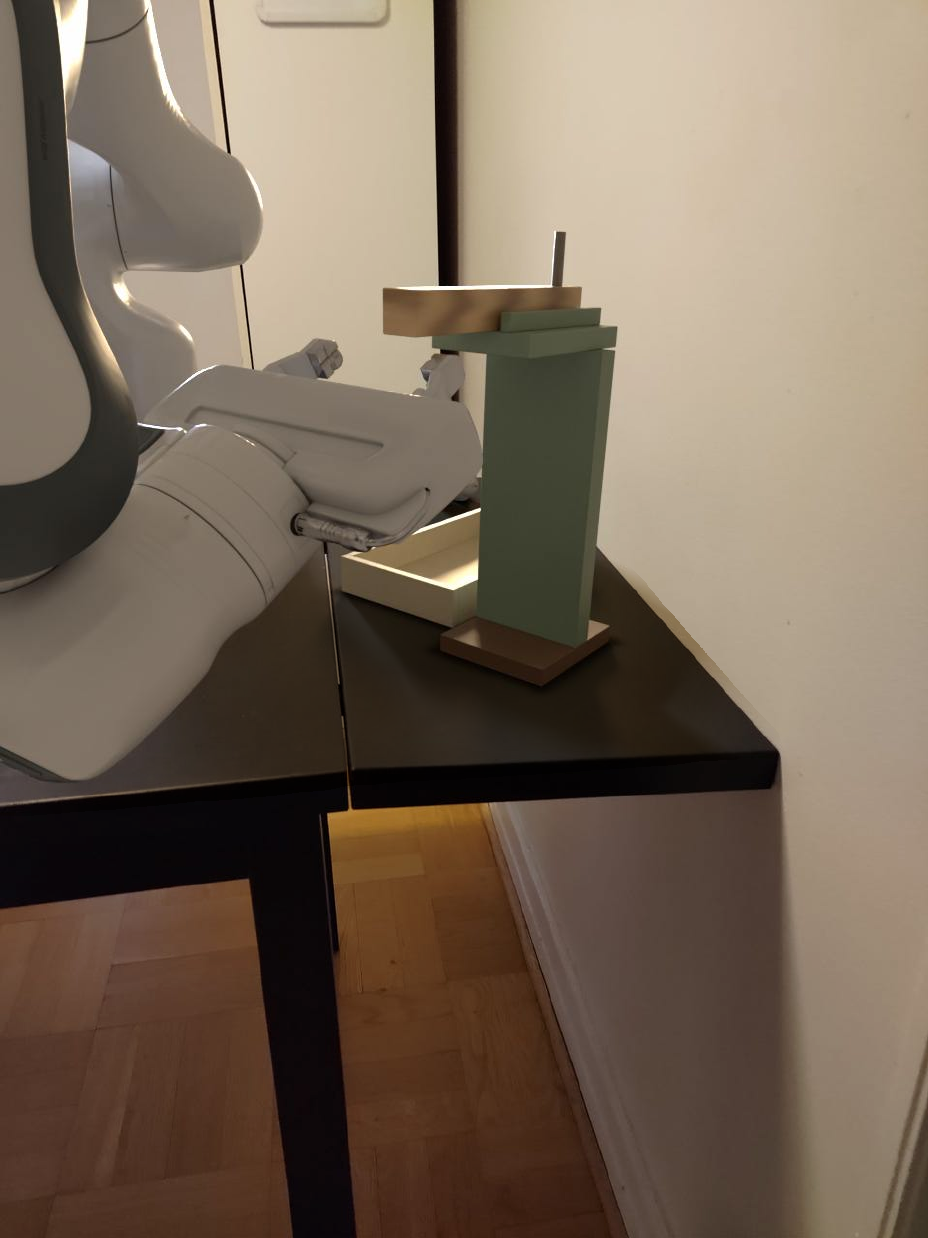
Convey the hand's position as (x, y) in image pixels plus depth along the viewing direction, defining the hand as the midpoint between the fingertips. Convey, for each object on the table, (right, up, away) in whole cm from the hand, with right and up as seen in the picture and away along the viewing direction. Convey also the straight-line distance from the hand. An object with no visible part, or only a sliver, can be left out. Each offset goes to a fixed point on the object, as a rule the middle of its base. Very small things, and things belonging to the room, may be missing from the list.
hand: (388, 356), depth 50 cm
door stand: (+9, -18, +22) cm, 29 cm away
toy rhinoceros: (+3, 0, +63) cm, 63 cm away
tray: (+5, -11, +38) cm, 40 cm away
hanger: (+6, +4, +7) cm, 10 cm away
